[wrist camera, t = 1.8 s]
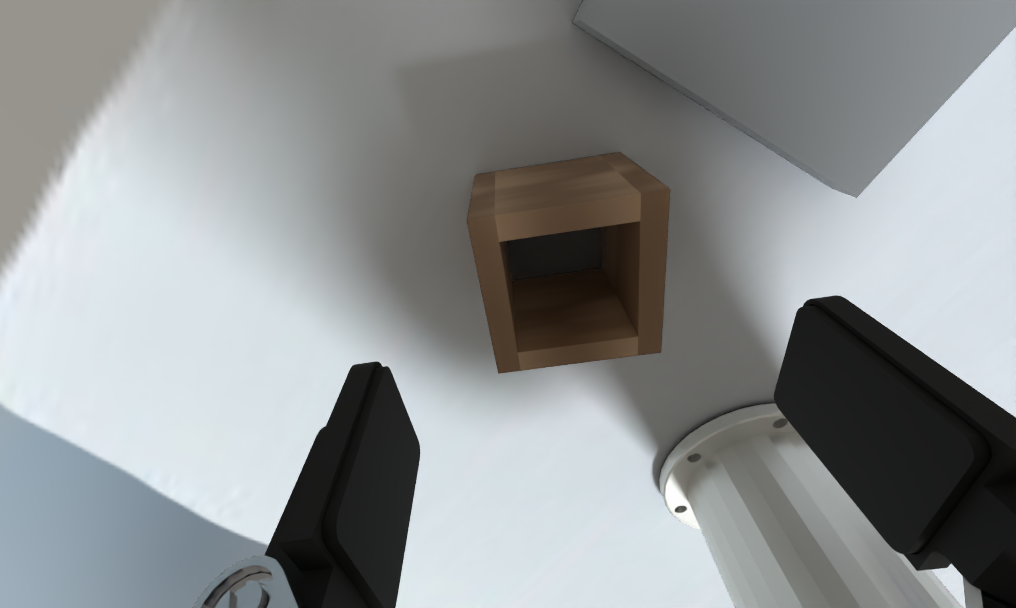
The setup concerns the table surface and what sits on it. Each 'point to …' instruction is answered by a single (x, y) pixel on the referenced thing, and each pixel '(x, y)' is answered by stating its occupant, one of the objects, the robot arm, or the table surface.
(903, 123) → the board
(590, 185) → the wooden cube shelf
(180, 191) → the table surface
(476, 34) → the table surface
